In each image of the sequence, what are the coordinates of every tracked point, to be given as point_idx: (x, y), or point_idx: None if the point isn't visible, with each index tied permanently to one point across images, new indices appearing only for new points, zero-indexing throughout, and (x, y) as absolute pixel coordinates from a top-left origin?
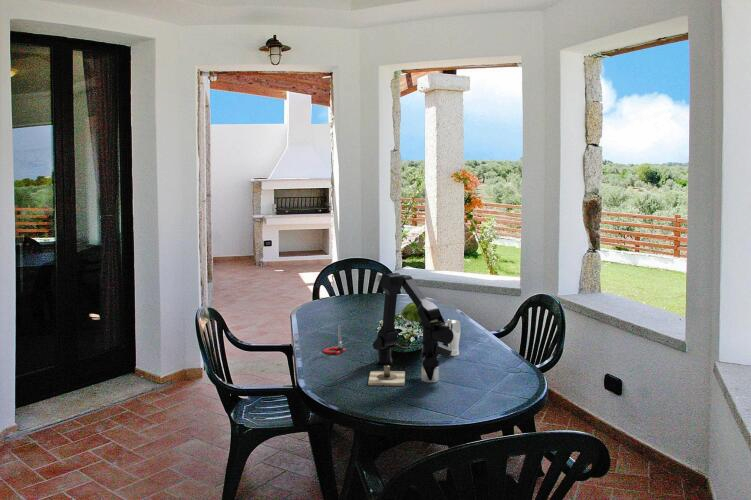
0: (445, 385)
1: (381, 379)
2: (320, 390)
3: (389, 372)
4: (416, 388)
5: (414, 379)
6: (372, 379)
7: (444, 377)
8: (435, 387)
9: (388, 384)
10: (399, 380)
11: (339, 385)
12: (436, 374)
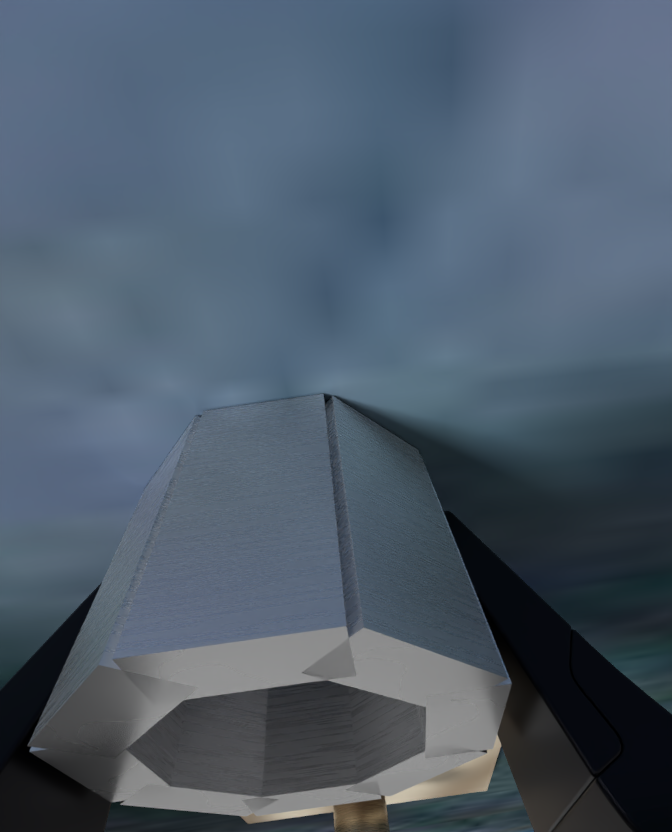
0: (584, 246)
1: None
2: (528, 824)
3: (375, 820)
4: (609, 579)
5: None
6: (420, 792)
7: (88, 312)
8: (640, 407)
9: None
10: None
11: (470, 814)
12: (404, 524)
